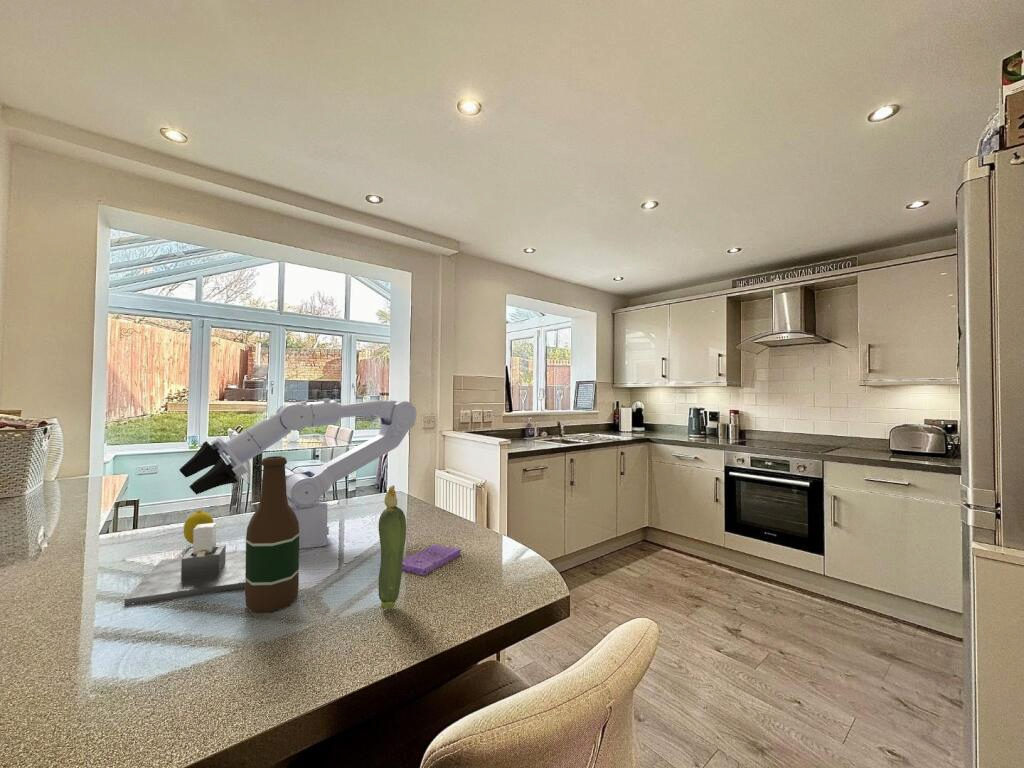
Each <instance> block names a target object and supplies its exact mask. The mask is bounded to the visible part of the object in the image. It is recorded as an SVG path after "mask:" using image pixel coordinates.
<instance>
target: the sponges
mask: <svg viewBox="0 0 1024 768" xmlns="http://www.w3.org/2000/svg"><path fill="white" fill-rule="evenodd" d="M461 550H462V549H461V548H459V547H451V546H444V545H440V544H436V543H434V544H433V545H431V546H430V545H429V546H428V547H426V548H424V549H422V550H420V551H418V552H417V551H416V552H415V553H414V554H411V555H408V556H406V557H405V558H404V557H403V562H402V571H404V572H408V573H411V574H417V575H421V576H425V575H426V574H428V573H431V571H434V570H436V569H438V568H439V567H441V566H442V565H444V564H446V563H448V562H450V561H451V560H454V559H455V558H457V557H459V556H460V554H461V553H462V552H461Z"/></svg>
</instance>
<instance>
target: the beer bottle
mask: <svg viewBox="0 0 1024 768" xmlns="http://www.w3.org/2000/svg"><path fill="white" fill-rule="evenodd" d="M260 463H261V464H260V465H261V466H262V480H261V489H260V500H259V503H258V508H257V509H256V510H255V512H254V514H253V515H252V516H251V517H250V520H249V522H248V525H247V527H246V536H245V550H246V573H245V588H244V590H245V591H244V596H245V597H244V599H245V606H246V608H247V609H248V610H249V611H251V613H252V614H270V613H274V612H277V611H280V610H283V609H286V608H289V607H290V606H291V605H292V604H293V603H294V602H295V601H296V600H297V599H298V596H299V585H300V584H299V583H300V581H299V580H300V579H299V578H300V575H299V574H300V549H299V522H298V520H297V517H296V515H295V513H294V511H293V510H292V509H291V508H290V506H289V505H288V500H287V493H286V478H287V476H286V464H288V462H287V458H286V457H284V456H281V455H274V456H268V457H267V456H266V457H264V458H262V459H261V462H260Z"/></svg>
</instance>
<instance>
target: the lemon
mask: <svg viewBox="0 0 1024 768" xmlns="http://www.w3.org/2000/svg"><path fill="white" fill-rule="evenodd" d="M209 523H215V522H214V519H213V517H212V515H211V514H209V512H205V511H203V510H201V509H198V510H197V511H196V512H193V513H192V514H191V515H189V516H188V517H187V519H186V520H185V523H184V526H183V536H184V538H185V540H186V542H188V543H189V544H192V545H193V529H194V528H195V527H196V526H197V525H199V524H209Z"/></svg>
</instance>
